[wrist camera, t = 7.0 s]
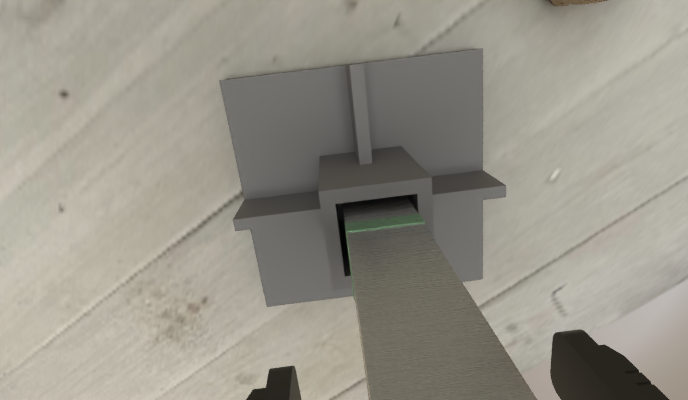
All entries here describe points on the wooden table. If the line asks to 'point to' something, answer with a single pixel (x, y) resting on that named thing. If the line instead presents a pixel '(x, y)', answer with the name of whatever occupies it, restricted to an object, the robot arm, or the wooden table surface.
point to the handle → (573, 2)
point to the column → (419, 313)
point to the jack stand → (358, 163)
